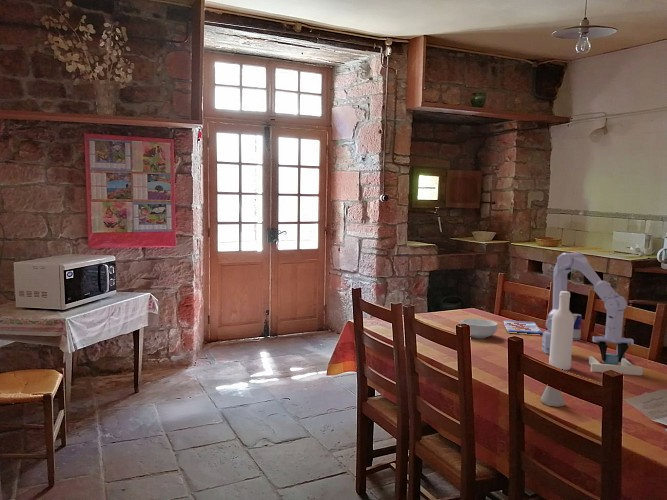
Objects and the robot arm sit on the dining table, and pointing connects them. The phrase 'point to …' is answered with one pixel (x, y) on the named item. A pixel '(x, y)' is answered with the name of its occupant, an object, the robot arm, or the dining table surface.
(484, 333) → the cereal bowl
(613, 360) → the light blue block
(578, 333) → the energy drink
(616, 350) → the duct cover
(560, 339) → the bottle
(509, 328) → the blue white book
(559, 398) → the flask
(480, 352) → the dining table surface
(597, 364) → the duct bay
